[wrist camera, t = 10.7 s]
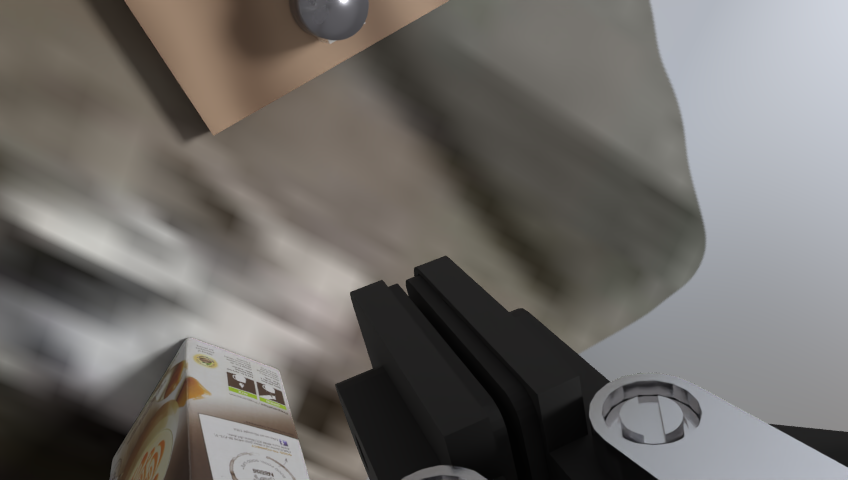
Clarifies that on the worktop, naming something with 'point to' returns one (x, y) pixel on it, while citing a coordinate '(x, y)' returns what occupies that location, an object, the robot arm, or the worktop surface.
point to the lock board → (253, 48)
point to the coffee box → (213, 423)
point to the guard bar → (329, 17)
